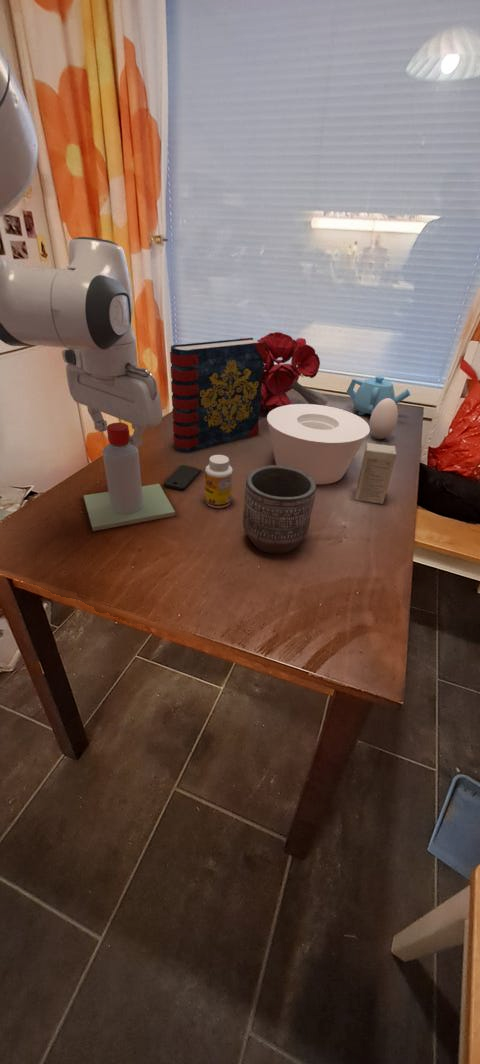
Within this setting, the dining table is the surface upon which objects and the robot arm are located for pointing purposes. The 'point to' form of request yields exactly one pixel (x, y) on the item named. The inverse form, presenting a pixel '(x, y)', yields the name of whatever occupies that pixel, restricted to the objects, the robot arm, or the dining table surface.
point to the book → (215, 392)
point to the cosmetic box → (375, 472)
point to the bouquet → (287, 370)
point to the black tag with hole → (182, 477)
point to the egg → (383, 418)
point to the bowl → (316, 439)
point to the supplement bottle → (218, 482)
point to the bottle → (123, 477)
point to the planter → (278, 507)
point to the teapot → (373, 393)
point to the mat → (105, 517)
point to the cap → (118, 434)
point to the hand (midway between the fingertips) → (118, 437)
